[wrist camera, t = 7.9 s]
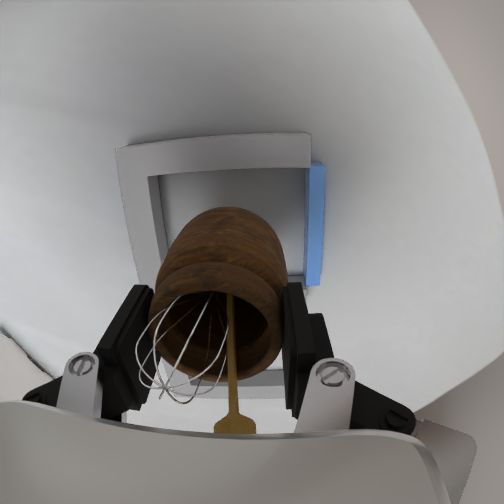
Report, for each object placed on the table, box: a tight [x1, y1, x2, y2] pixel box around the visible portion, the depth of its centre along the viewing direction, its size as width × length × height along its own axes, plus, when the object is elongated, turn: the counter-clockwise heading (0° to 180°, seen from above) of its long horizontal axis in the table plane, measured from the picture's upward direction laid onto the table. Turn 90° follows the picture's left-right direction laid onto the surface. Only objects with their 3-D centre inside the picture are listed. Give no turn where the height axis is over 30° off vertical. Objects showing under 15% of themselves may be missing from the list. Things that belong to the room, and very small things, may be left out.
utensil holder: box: [135, 207, 288, 434], centre depth 11 cm, size 6×6×12 cm
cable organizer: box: [0, 334, 54, 402], centre depth 26 cm, size 15×11×12 cm
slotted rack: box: [115, 133, 325, 399], centre depth 22 cm, size 23×13×2 cm, turn 2°
